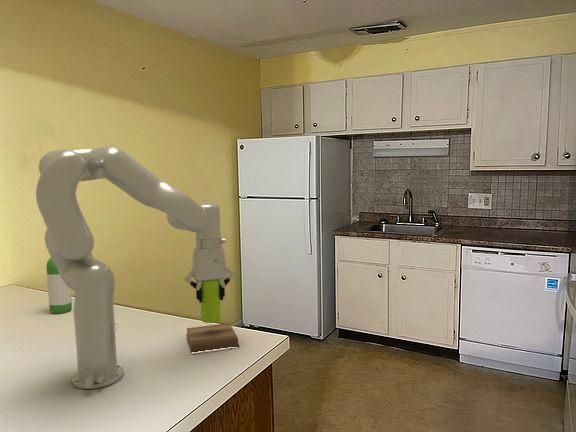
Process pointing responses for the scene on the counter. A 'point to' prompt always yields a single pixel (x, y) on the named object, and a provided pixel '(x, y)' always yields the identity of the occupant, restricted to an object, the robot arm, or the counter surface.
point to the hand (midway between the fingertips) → (210, 299)
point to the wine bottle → (57, 290)
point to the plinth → (211, 337)
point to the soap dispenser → (210, 300)
